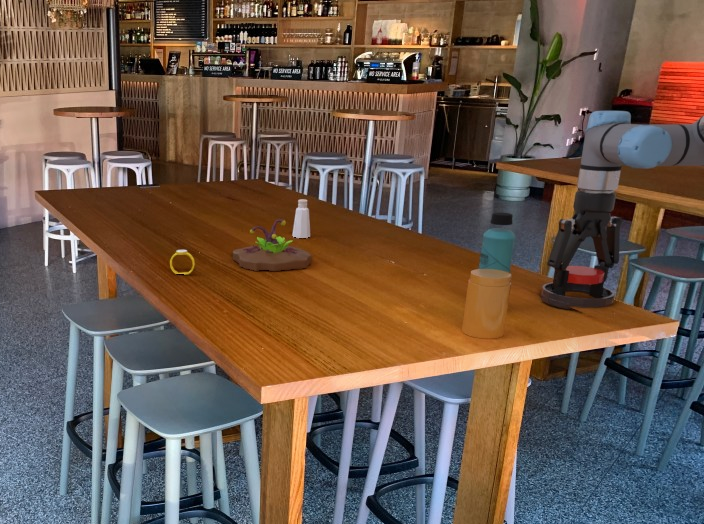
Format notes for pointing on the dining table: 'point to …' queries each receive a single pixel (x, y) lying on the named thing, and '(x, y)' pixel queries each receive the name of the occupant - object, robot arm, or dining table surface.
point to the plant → (272, 253)
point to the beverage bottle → (498, 244)
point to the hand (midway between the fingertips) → (576, 297)
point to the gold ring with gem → (182, 252)
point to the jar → (486, 303)
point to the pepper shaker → (301, 220)
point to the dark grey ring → (562, 300)
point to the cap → (585, 275)
